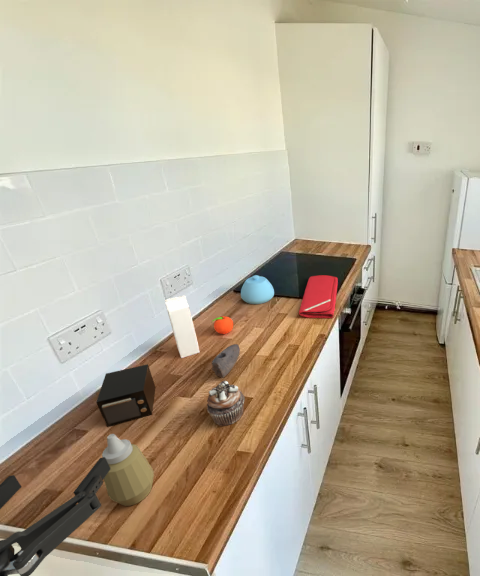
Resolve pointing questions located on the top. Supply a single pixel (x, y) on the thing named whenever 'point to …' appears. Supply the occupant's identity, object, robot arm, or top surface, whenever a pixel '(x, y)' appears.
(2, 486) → the robot arm
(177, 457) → the top surface
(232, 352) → the perforated stone tool
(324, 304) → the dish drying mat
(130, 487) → the squeeze bottle
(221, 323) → the clementine
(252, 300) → the sugar bowl
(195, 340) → the milk
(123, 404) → the toaster oven
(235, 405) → the cupcake
